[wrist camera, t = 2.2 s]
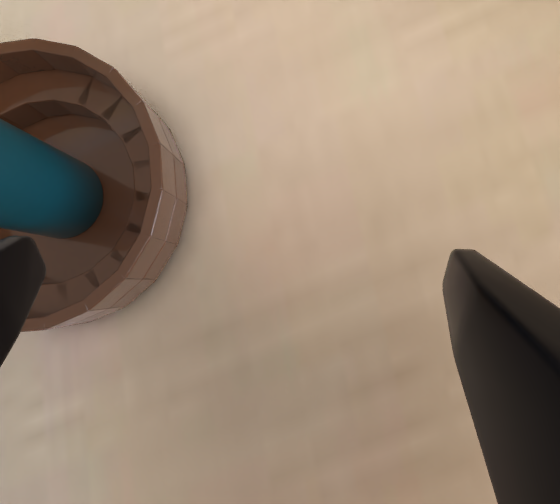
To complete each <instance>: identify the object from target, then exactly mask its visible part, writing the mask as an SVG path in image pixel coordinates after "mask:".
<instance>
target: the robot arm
mask: <svg viewBox="0 0 560 504" xmlns="http://www.w3.org/2000/svg"><path fill="white" fill-rule="evenodd" d="M45 276H46V265H45V263H44V261H43V258H42V256H41V254H40V251H39V249H38V247H37V245H36V242H35V241H34V240H33V239H32V238H31V237H29V236H9V237H6V238H4V239H1V240H0V367H1V365H2V364H3V362H4V360H5V358H6V357H7V355H8V353H9V352H10V350H11V348H12V346H13V345H14V343H15V341H16V339H17V337H18V336H19V334H20V332H21V330H22V328H23V325H24V323H25V321H26V319H27V317H28V314H29V312H30V310H31V308H32V305H33V303H34V301H35V299H36V296H37V294H38V292H39V290H40V287H41V285H42V283H43V281H44V278H45ZM443 296H444V302H445V308H446V314H447V320H448V326H449V332H450V338H451V344H452V349H453V354H454V358H455V362H456V366H457V369H458V372H459V376H460V379H461V382H462V386H463V389H464V392H465V396H466V399H467V402H468V406H469V409H470V412H471V416H472V419H473V422H474V426H475V429H476V432H477V436H478V439H479V442H480V446H481V449H482V452H483V456H484V459H485V462H486V466H487V469H488V472H489V476H490V479H491V482H492V486H493V489H494V492H495V496H496V499H497V502H498V504H560V308H558V307H557V306H556V305H554V304H553V303H551V302H550V301H548V300H547V299H545V298H544V297H542V296H541V295H540V294H538V293H537V292H535V291H534V290H532V289H531V288H529V287H528V286H526V285H525V284H523V283H522V282H521V281H519V280H518V279H516V278H515V277H513V276H512V275H510V274H509V273H507V272H506V271H505V270H503V269H502V268H500V267H499V266H497V265H496V264H494V263H493V262H491V261H490V260H489V259H487V258H486V257H484V256H483V255H481V254H480V253H478V252H477V251H475V250H471V249H455V250H453V251H452V252H451V254H450V257H449V261H448V264H447V268H446V272H445V276H444V279H443Z"/></svg>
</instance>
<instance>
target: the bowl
mask: <svg viewBox="0 0 560 504" xmlns="http://www.w3.org/2000/svg"><path fill="white" fill-rule="evenodd" d="M0 119H2V120H4V121H6V122H8V123H9V124H11V125H13V126H15V127H17V128H19V129H21V130H23V131H25V132H26V133H28V134H30V135H32V136H34V137H36V138H38V139H40V140H42V141H43V142H45V143H47V144H49V145H51V146H53V147H55V148H57V149H59V150H60V151H62V152H64V153H66V154H68V155H70V156H72V157H74V158H76V159H77V160H79V161H81V162H83V163H85V164H86V165H88V166H89V167H90V168H92V170H93V171H94V172H95V173H96V174H97V176H98V178H99V180H100V182H101V185H102V189H103V204H102V208H101V211H100V213H99V216H98V217H97V219H96V221H95V222H94V223H93V224H92V226H90V227H89V228H88V229H87V230H86V231H84V232H83V233H81V234H79V235H77V236H74V237H70V238H54V237H48V236H42V235H37V234H31V233H26V232H20V231H15V230H9V229H4V228H0V240H1V239H4V238H6V237H9V236H29V237H31V238H32V239H33V240H34V241H35V242H36V245H37V247H38V249H39V251H40V254H41V256H42V258H43V261H44V263H45V265H46V276H45V278H44V281H43V283H42V285H41V287H40V290H39V292H38V294H37V296H36V299H35V301H34V303H33V305H32V308H31V310H30V312H29V314H28V317H27V319H26V321H25V323H24V325H23V328H22V330H21V332H25V331H37V330H47V329H53V328H59V327H65V326H71V325H76V324H82V323H88V322H91V321H94V320H96V319H98V318H101V317H103V316H105V315H108V314H110V313H112V312H115V311H117V310H119V309H122V308H124V307H126V306H127V305H128V304H130V303H131V302H132V301H133V300H134V299H135V298H136V297H138V296H139V295H140V294H141V293H142V292H143V291H144V290H146V289H147V288H148V287H149V286H150V285H151V284H152V283H154V282H155V281H156V279H157V278H158V276H159V275H160V273H161V271H162V270H163V268H164V266H165V265H166V263H167V261H168V260H169V258H170V257H171V255H172V253H173V252H174V250H175V248H176V247H177V244H178V242H179V238H180V234H181V230H182V226H183V222H184V218H185V214H186V210H187V191H186V176H185V166H184V162H183V160H182V158H181V155H180V153H179V150H178V148H177V145H176V143H175V140H174V138H173V135H172V133H171V131H170V129H169V128H168V127H167V126H166V124H165V123H164V122H163V121H162V120H161V119H160V118H159V116H158V115H157V114H156V113H155V112H154V111H153V110H152V108H151V107H150V106H149V105H148V104H147V103H146V102H145V100H144V99H143V98H142V97H141V96H140V95H139V94H138V93H137V92H136V91H135V90H134V88H133V87H132V86H131V85H130V84H129V83H128V82H127V81H126V80H125V79H124V78H123V77H122V75H121V74H120V73H119V72H118V71H117V70H116V69H115V68H114V67H112V66H110V65H109V64H107V63H105V62H103V61H102V60H100V59H98V58H96V57H95V56H93V55H91V54H89V53H88V52H86V51H84V50H82V49H81V48H79V47H76V46H73V45H67V44H62V43H57V42H51V41H46V40H41V39H25V40H18V41H10V42H3V43H0Z"/></svg>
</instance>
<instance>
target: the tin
mask: <svg viewBox="0 0 560 504" xmlns="http://www.w3.org/2000/svg"><path fill="white" fill-rule="evenodd" d="M102 204H103V189H102V185H101V182H100V180H99V178H98V176H97V174H96V173H95V172H94V171H93V170H92V168H90V167H89V166H88V165H86V164H85V163H83V162H81V161H79V160H77V159H76V158H74V157H72V156H70V155H68V154H66V153H64V152H62V151H60V150H59V149H57V148H55V147H53V146H51V145H49V144H47V143H45V142H43V141H42V140H40V139H38V138H36V137H34V136H32V135H30V134H28V133H26V132H25V131H23V130H21V129H19V128H17V127H15V126H13V125H11V124H9V123H8V122H6V121H4V120H2V119H0V228H4V229H9V230H15V231H20V232H26V233H31V234H37V235H42V236H48V237H54V238H70V237H74V236H77V235H79V234H81V233H83V232H84V231H86V230H87V229H88V228H89V227H90V226H92V224H93V223H94V222H95V221H96V219H97V217H98V216H99V213H100V211H101V208H102Z"/></svg>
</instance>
